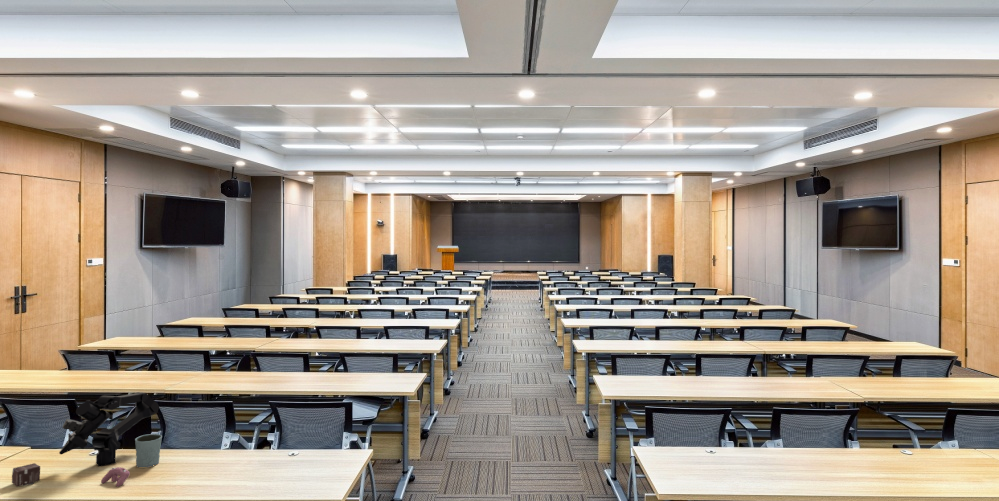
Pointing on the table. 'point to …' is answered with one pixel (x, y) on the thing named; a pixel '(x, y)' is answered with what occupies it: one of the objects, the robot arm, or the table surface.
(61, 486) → the table surface
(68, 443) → the robot arm
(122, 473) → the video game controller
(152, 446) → the grey cup
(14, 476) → the box
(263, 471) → the table surface
